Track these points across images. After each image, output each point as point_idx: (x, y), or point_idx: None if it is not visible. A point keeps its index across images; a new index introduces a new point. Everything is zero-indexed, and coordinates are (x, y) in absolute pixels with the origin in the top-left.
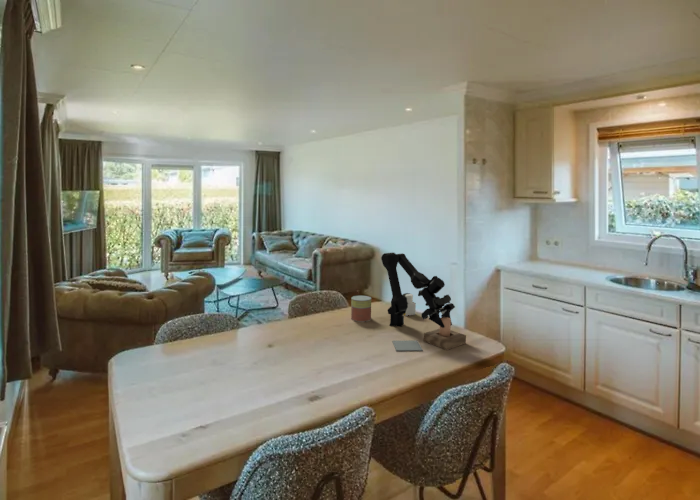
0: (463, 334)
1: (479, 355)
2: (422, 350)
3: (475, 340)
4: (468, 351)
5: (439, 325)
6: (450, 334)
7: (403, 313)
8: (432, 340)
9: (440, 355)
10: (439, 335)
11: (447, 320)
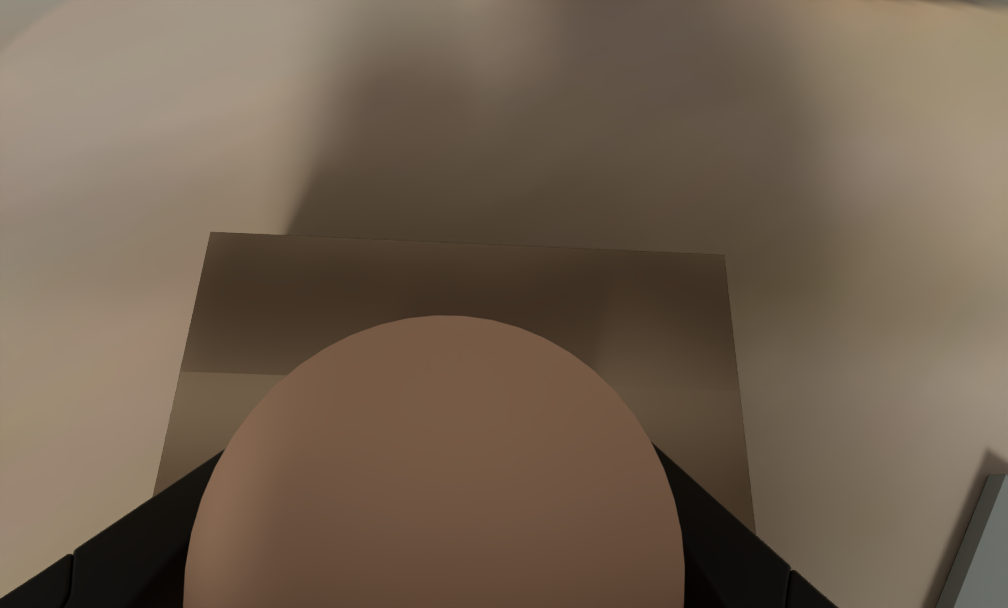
0: (204, 282)
1: (494, 4)
2: (999, 477)
3: (47, 267)
4: (490, 120)
5: None
6: None
7: None
8: None
9: (863, 242)
10: None
11: (554, 350)
